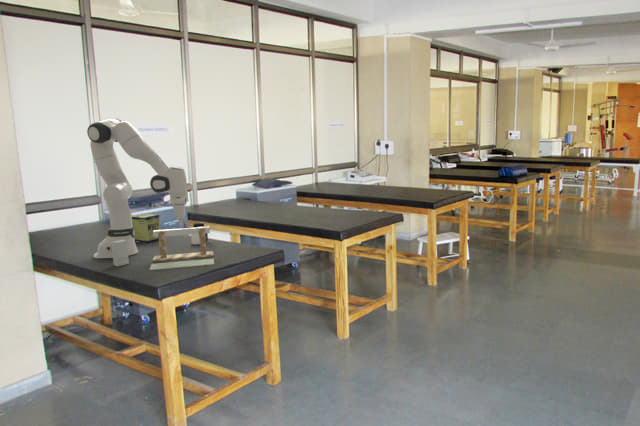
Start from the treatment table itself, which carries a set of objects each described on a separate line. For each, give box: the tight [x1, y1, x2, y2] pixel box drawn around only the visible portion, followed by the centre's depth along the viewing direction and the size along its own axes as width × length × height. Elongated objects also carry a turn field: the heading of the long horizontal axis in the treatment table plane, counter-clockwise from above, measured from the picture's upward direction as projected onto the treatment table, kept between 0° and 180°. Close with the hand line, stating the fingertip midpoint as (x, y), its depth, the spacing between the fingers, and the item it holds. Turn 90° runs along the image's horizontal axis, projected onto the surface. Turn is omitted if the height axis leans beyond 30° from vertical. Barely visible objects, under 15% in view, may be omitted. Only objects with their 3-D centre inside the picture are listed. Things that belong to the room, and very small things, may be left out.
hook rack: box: [152, 225, 215, 263], centre depth 264 cm, size 30×8×15 cm, turn 103°
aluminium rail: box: [153, 225, 211, 237], centre depth 263 cm, size 28×3×3 cm, turn 103°
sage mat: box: [149, 258, 215, 271], centre depth 250 cm, size 30×10×1 cm, turn 103°
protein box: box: [132, 213, 161, 244], centre depth 309 cm, size 10×16×16 cm
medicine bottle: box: [190, 221, 209, 245], centre depth 297 cm, size 7×7×12 cm
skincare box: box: [111, 240, 130, 267], centre depth 253 cm, size 6×4×12 cm
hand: (181, 225), depth 262 cm, fingers open, 8 cm apart
